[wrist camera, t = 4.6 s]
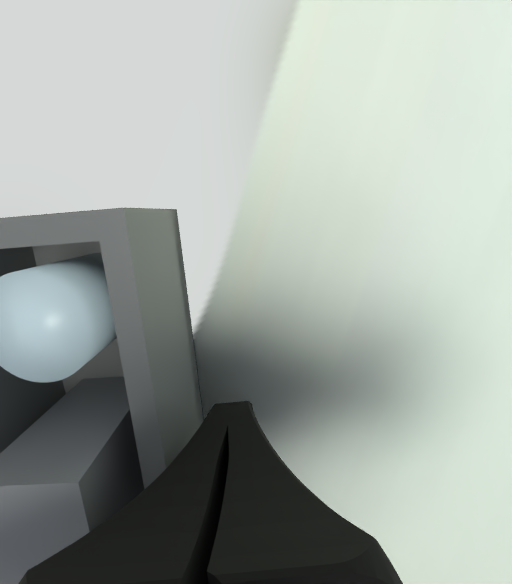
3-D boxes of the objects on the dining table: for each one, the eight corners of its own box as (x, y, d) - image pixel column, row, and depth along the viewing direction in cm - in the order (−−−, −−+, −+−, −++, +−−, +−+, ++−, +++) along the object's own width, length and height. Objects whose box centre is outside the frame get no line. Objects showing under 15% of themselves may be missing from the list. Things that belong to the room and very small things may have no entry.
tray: (101, 570, 14) (7, 773, 9) (21, 222, 11) (-196, 230, 6) (222, 566, 14) (196, 773, 9) (176, 209, 11) (93, 206, 6)
